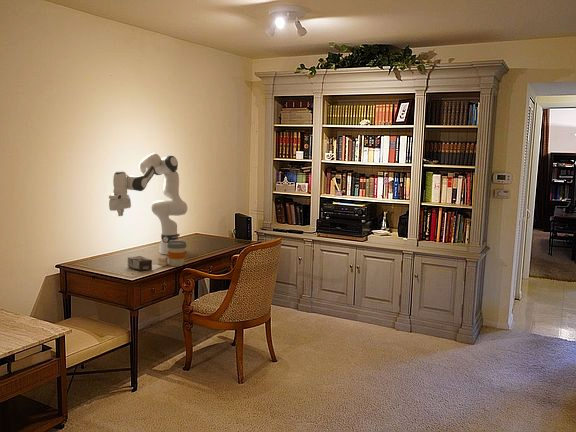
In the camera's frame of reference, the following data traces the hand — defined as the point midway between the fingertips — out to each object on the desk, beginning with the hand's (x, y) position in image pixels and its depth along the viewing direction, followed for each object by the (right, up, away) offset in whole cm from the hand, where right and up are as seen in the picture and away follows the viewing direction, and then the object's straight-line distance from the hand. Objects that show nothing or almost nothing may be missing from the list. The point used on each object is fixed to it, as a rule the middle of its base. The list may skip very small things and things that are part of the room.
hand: (120, 216), depth 353 cm
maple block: (+29, -33, -1) cm, 44 cm away
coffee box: (+12, -30, -10) cm, 33 cm away
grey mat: (+22, -34, -10) cm, 41 cm away
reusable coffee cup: (+38, -33, -1) cm, 50 cm away
